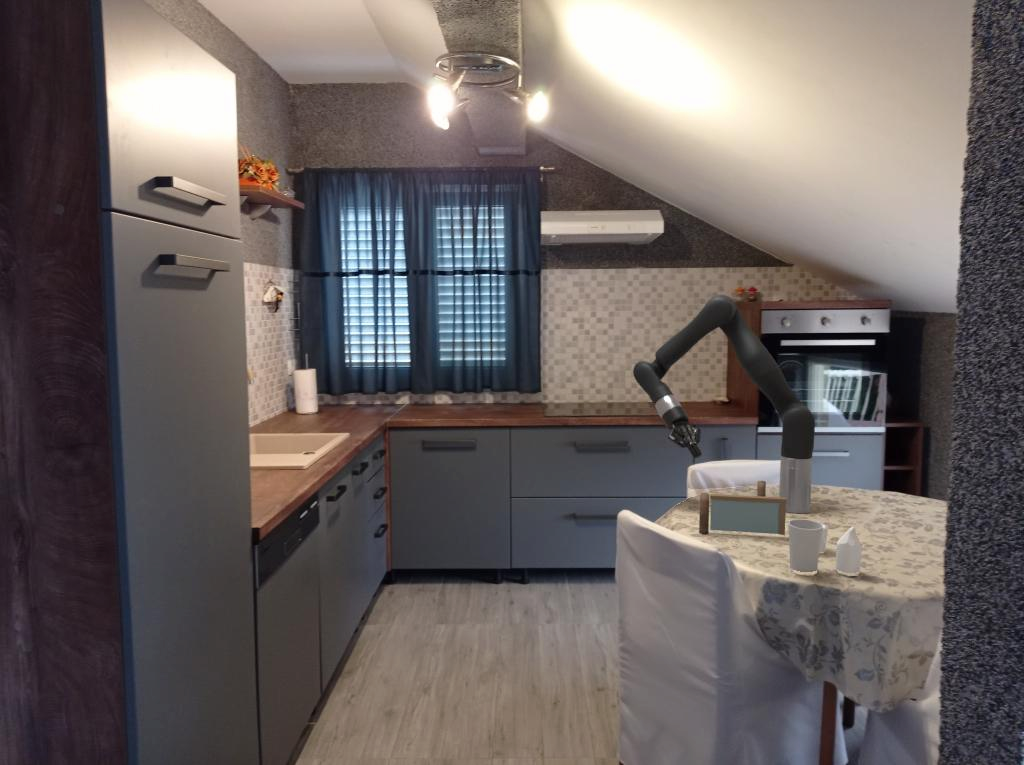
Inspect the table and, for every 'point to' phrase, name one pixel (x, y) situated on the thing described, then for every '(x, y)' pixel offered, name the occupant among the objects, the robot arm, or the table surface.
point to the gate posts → (705, 507)
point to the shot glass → (823, 538)
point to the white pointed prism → (849, 552)
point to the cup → (804, 544)
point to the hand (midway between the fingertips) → (698, 456)
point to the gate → (748, 513)
